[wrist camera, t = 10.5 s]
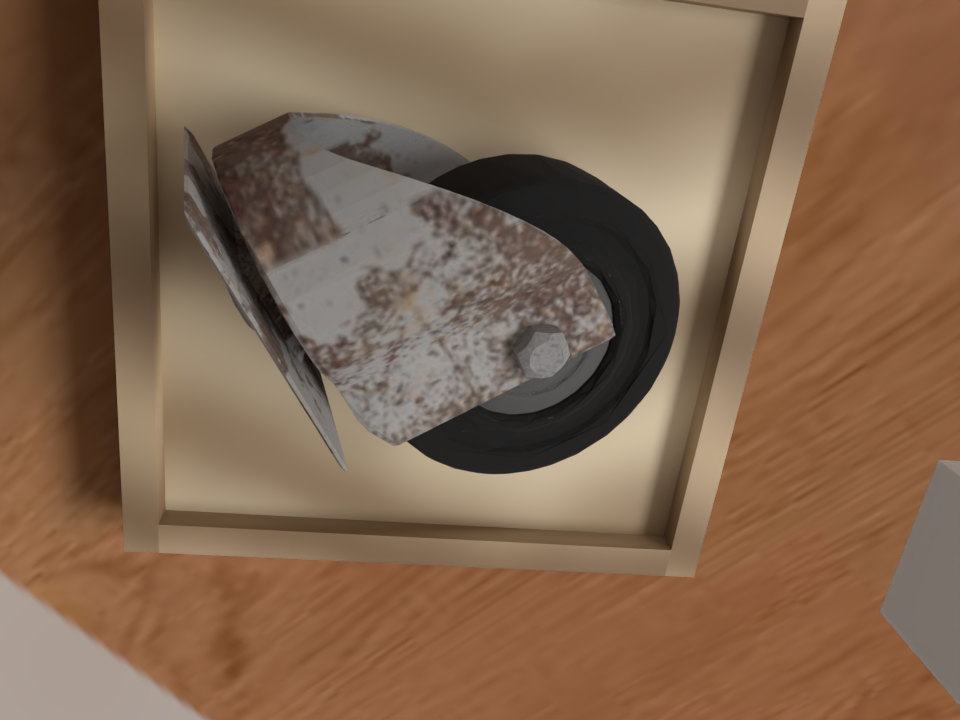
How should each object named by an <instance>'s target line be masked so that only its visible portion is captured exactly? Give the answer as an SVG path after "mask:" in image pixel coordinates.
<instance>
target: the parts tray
mask: <svg viewBox="0 0 960 720" xmlns="http://www.w3.org/2000/svg"><path fill="white" fill-rule="evenodd" d="M98 3H99V24H100V45H101V67H102V88H103V109H104V130H105V151H106V173H107V194H108V215H109V236H110V257H111V279H112V300H113V321H114V342H115V363H116V385H117V406H118V427H119V448H120V469H121V491H122V512H123V533H124V551H133V552H155V553H177V554H199V555H221V556H243V557H265V558H286V559H308V560H330V561H352V562H374V563H396V564H418V565H440V566H462V567H484V568H506V569H528V570H550V571H572V572H593V573H615V574H637V575H659V576H681V577H694V574H695V571H696V567H697V563H698V559H699V556H700V552H701V548H702V544H703V541H704V537H705V533H706V529H707V526H708V522H709V518H710V514H711V510H712V507H713V503H714V499H715V495H716V492H717V488H718V484H719V480H720V477H721V473H722V469H723V465H724V462H725V458H726V454H727V450H728V447H729V443H730V439H731V435H732V432H733V428H734V424H735V420H736V416H737V413H738V409H739V405H740V401H741V398H742V394H743V390H744V386H745V383H746V379H747V375H748V371H749V368H750V364H751V360H752V356H753V353H754V349H755V345H756V341H757V338H758V334H759V330H760V326H761V322H762V319H763V315H764V311H765V307H766V304H767V300H768V296H769V292H770V289H771V285H772V281H773V277H774V274H775V270H776V266H777V262H778V259H779V255H780V251H781V247H782V243H783V240H784V236H785V232H786V228H787V225H788V221H789V217H790V213H791V210H792V206H793V202H794V198H795V195H796V191H797V187H798V183H799V180H800V176H801V172H802V168H803V165H804V161H805V157H806V153H807V149H808V146H809V142H810V138H811V134H812V131H813V127H814V123H815V119H816V116H817V112H818V108H819V104H820V101H821V97H822V93H823V89H824V86H825V82H826V78H827V74H828V71H829V67H830V63H831V59H832V55H833V52H834V48H835V44H836V40H837V37H838V33H839V29H840V25H841V22H842V18H843V14H844V10H845V7H846V3H847V0H98ZM288 112H308V113H329V114H343V115H351V116H360V117H365V118H370V119H375V120H381V121H385V122H388V123H392V124H396V125H399V126H403V127H406V128H408V129H411V130H414V131H416V132H419V133H422V134H424V135H426V136H428V137H430V138H432V139H434V140H436V141H438V142H440V143H442V144H444V145H446V146H447V147H449V148H451V149H452V150H454V151H456V152H457V153H459V154H461V155H462V156H463V157H465V158H466V159H467V160H469V161H470V162H473V161H476V160H478V159H482V158H488V157H494V156H500V155H505V154H538V155H542V156H546V157H550V158H554V159H558V160H562V161H566V162H568V163H570V164H572V165H574V166H576V167H578V168H580V169H582V170H584V171H586V172H588V173H590V174H591V175H593V176H595V177H597V178H598V179H600V180H601V181H603V182H604V183H605V184H607V185H608V186H610V187H611V188H613V189H614V190H615V191H617V192H618V193H620V194H621V195H622V196H624V197H625V198H627V199H628V200H630V201H631V202H632V203H634V204H635V205H637V206H638V207H639V208H641V209H642V210H643V211H644V212H645V213H646V214H647V215H648V216H649V218H650V219H651V220H652V221H653V222H654V223H655V224H656V225H657V227H658V228H659V230H660V232H661V234H662V235H663V237H664V239H665V240H666V242H667V244H668V246H669V247H670V249H671V253H672V256H673V260H674V263H675V266H676V270H677V273H678V281H679V294H680V307H679V317H678V323H677V328H676V334H675V337H674V341H673V344H672V347H671V350H670V353H669V355H668V357H667V360H666V362H665V364H664V366H663V368H662V370H661V372H660V374H659V375H658V377H657V379H656V381H655V382H654V384H653V386H652V388H651V389H650V391H649V392H648V393H647V394H646V396H645V397H644V398H643V400H642V401H641V402H640V403H639V404H638V405H637V407H636V408H635V409H634V410H633V411H632V412H631V414H630V415H629V416H628V417H627V418H626V419H625V420H624V421H623V422H621V423H620V424H619V425H618V426H617V427H616V428H615V429H614V430H612V431H611V432H610V433H609V434H608V435H607V436H605V437H604V438H602V439H600V440H599V441H597V442H596V443H594V444H593V445H591V446H589V447H588V448H586V449H585V450H583V451H581V452H580V453H578V454H576V455H574V456H572V457H569V458H567V459H565V460H562V461H560V462H557V463H555V464H553V465H550V466H546V467H542V468H539V469H535V470H531V471H525V472H518V473H510V474H482V473H474V472H469V471H464V470H459V469H454V468H452V467H449V466H447V465H444V464H442V463H439V462H437V461H434V460H432V459H430V458H429V457H427V456H425V455H424V454H423V453H421V452H420V451H419V450H417V449H416V448H415V447H413V446H412V445H411V444H409V443H408V442H407V441H406V442H404V443H402V444H400V445H397V446H392V445H391V444H389V443H387V442H385V441H384V440H382V439H380V438H379V437H377V436H375V435H373V434H372V433H370V432H368V431H367V430H366V429H365V427H364V426H363V425H362V424H361V423H360V422H359V421H358V420H357V419H356V417H355V416H354V414H353V412H352V411H351V409H350V408H349V406H348V404H347V403H346V401H345V400H344V398H343V396H342V395H341V393H340V392H339V390H338V389H337V388H336V387H335V385H334V384H333V383H332V382H331V381H330V380H329V379H327V378H326V377H325V376H324V375H323V374H322V373H321V372H320V373H321V377H322V380H323V384H324V387H325V391H326V394H327V398H328V401H329V405H330V408H331V412H332V415H333V419H334V422H335V426H336V429H337V433H338V436H339V440H340V443H341V447H342V450H343V454H344V457H345V461H346V464H347V472H348V473H347V472H345V471H344V470H343V469H342V468H341V467H340V466H339V465H338V463H337V461H336V460H335V458H334V457H333V455H332V453H331V452H330V450H329V449H328V447H327V445H326V444H325V442H324V441H323V439H322V437H321V436H320V434H319V433H318V431H317V429H316V428H315V426H314V425H313V423H312V422H311V420H310V418H309V417H308V415H307V414H306V412H305V410H304V409H303V407H302V406H301V404H300V402H299V401H298V399H297V398H296V396H295V394H294V393H293V391H292V390H291V388H290V386H289V385H288V383H287V382H286V380H285V379H284V377H283V375H282V374H281V372H280V371H279V369H278V367H277V366H276V364H275V363H274V361H273V359H272V358H271V356H270V355H269V353H268V351H267V350H266V348H265V347H264V345H263V343H262V342H261V340H260V339H259V337H258V336H257V334H256V332H255V331H254V330H252V329H251V328H250V327H249V326H248V325H247V324H246V322H245V321H244V319H243V318H242V316H241V314H240V313H239V311H238V309H237V308H236V306H235V305H234V303H233V300H232V298H231V296H230V294H229V292H228V290H227V286H226V285H225V283H224V281H223V280H222V278H221V277H220V275H219V273H218V272H217V270H216V269H215V267H214V265H213V264H212V262H211V261H210V259H209V257H208V256H207V254H206V253H205V251H204V250H203V248H202V246H201V245H200V243H199V242H198V240H197V238H196V237H195V235H194V234H193V232H192V230H191V229H190V227H189V224H188V222H187V219H186V217H185V214H184V126H185V127H187V128H188V129H189V130H190V131H191V133H192V134H193V135H194V137H195V139H196V140H197V142H198V144H199V146H200V147H201V149H202V151H203V152H204V154H205V156H206V158H207V159H208V161H209V163H210V165H211V166H212V168H213V170H214V171H215V168H214V164H213V161H212V149H213V148H214V147H215V146H217V145H219V144H221V143H223V142H226V141H228V140H230V139H232V138H234V137H236V136H238V135H241V134H243V133H245V132H247V131H249V130H251V129H254V128H256V127H258V126H260V125H262V124H264V123H266V122H269V121H271V120H273V119H275V118H277V117H279V116H281V115H284V114H286V113H288ZM215 173H216V171H215ZM216 175H217V174H216Z"/></svg>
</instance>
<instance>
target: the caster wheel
mask: <svg viewBox="0 0 960 720" xmlns="http://www.w3.org/2000/svg"><path fill="white" fill-rule="evenodd" d="M212 161H213V164H214V168H215V171H216V173H215V171H214V170H213V168H212V166H211V165H210V163H209V161H208V159H207V158H206V156H205V154H204V152H203V151H202V149H201V147H200V146H199V144H198V142H197V140H196V139H195V137H194V135H193V134H192V133H191V131H190V130H189V129H188V128H187V127H185V126H184V214H185V217H186V219H187V222H188V224H189V227H190V229H191V230H192V232H193V234H194V235H195V237H196V238H197V240H198V242H199V243H200V245H201V246H202V248H203V250H204V251H205V253H206V254H207V256H208V257H209V259H210V261H211V262H212V264H213V265H214V267H215V269H216V270H217V272H218V273H219V275H220V277H221V278H222V280H223V281H224V283H225V285H226V286H227V290H228V292H229V294H230V296H231V298H232V300H233V303H234V305H235V306H236V308H237V309H238V311H239V313H240V314H241V316H242V318H243V319H244V321H245V322H246V324H247V325H248V326H249V327H250V328H251V329H252V330H254V331H255V332H256V334H257V336H258V337H259V339H260V340H261V342H262V343H263V345H264V347H265V348H266V350H267V351H268V353H269V355H270V356H271V358H272V359H273V361H274V363H275V364H276V366H277V367H278V369H279V371H280V372H281V374H282V375H283V377H284V379H285V380H286V382H287V383H288V385H289V386H290V388H291V390H292V391H293V393H294V394H295V396H296V398H297V399H298V401H299V402H300V404H301V406H302V407H303V409H304V410H305V412H306V414H307V415H308V417H309V418H310V420H311V422H312V423H313V425H314V426H315V428H316V429H317V431H318V433H319V434H320V436H321V437H322V439H323V441H324V442H325V444H326V445H327V447H328V449H329V450H330V452H331V453H332V455H333V457H334V458H335V460H336V461H337V463H338V465H339V466H340V467H341V468H342V469H343V470H344V471H345V472H347V464H346V461H345V457H344V454H343V450H342V447H341V443H340V440H339V436H338V433H337V429H336V426H335V422H334V419H333V415H332V412H331V408H330V405H329V401H328V398H327V394H326V391H325V387H324V384H323V380H322V377H321V373H322V374H323V375H324V376H325V377H326V378H327V379H329V380H330V381H331V382H332V383H333V384H334V385H335V387H336V388H337V389H338V390H339V392H340V393H341V395H342V396H343V398H344V400H345V401H346V403H347V404H348V406H349V408H350V409H351V411H352V412H353V414H354V416H355V417H356V419H357V420H358V421H359V422H360V423H361V424H362V425H363V426H364V427H365V429H366V430H367V431H368V432H370V433H372V434H373V435H375V436H377V437H379V438H380V439H382V440H384V441H385V442H387V443H389V444H391V445H392V446H397V445H400V444H402V443H404V442H406V441H407V442H408V443H409V444H411V445H412V446H413V447H415V448H416V449H417V450H419V451H420V452H421V453H423V454H424V455H425V456H427V457H429V458H430V459H432V460H434V461H437V462H439V463H442V464H444V465H447V466H449V467H452V468H454V469H459V470H464V471H469V472H474V473H482V474H510V473H518V472H525V471H531V470H535V469H539V468H542V467H546V466H550V465H553V464H555V463H557V462H560V461H562V460H565V459H567V458H569V457H572V456H574V455H576V454H578V453H580V452H581V451H583V450H585V449H586V448H588V447H589V446H591V445H593V444H594V443H596V442H597V441H599V440H600V439H602V438H604V437H605V436H607V435H608V434H609V433H610V432H611V431H612V430H614V429H615V428H616V427H617V426H618V425H619V424H620V423H621V422H623V421H624V420H625V419H626V418H627V417H628V416H629V415H630V414H631V412H632V411H633V410H634V409H635V408H636V407H637V405H638V404H639V403H640V402H641V401H642V400H643V398H644V397H645V396H646V394H647V393H648V392H649V391H650V389H651V388H652V386H653V384H654V382H655V381H656V379H657V377H658V375H659V374H660V372H661V370H662V368H663V366H664V364H665V362H666V360H667V357H668V355H669V353H670V350H671V347H672V344H673V341H674V337H675V334H676V328H677V323H678V317H679V307H680V294H679V281H678V273H677V270H676V266H675V263H674V260H673V256H672V253H671V249H670V247H669V246H668V244H667V242H666V240H665V239H664V237H663V235H662V234H661V232H660V230H659V228H658V227H657V225H656V224H655V223H654V222H653V221H652V220H651V219H650V218H649V216H648V215H647V214H646V213H645V212H644V211H643V210H642V209H641V208H639V207H638V206H637V205H635V204H634V203H632V202H631V201H630V200H628V199H627V198H625V197H624V196H622V195H621V194H620V193H618V192H617V191H615V190H614V189H613V188H611V187H610V186H608V185H607V184H605V183H604V182H603V181H601V180H600V179H598V178H597V177H595V176H593V175H591V174H590V173H588V172H586V171H584V170H582V169H580V168H578V167H576V166H574V165H572V164H570V163H568V162H566V161H562V160H558V159H554V158H550V157H546V156H542V155H538V154H505V155H500V156H494V157H488V158H482V159H478V160H476V161H473V162H470V161H469V160H467V159H466V158H465V157H463V156H462V155H461V154H459V153H457V152H456V151H454V150H452V149H451V148H449V147H447V146H446V145H444V144H442V143H440V142H438V141H436V140H434V139H432V138H430V137H428V136H426V135H424V134H422V133H419V132H416V131H414V130H411V129H408V128H406V127H403V126H399V125H396V124H392V123H388V122H385V121H381V120H375V119H370V118H365V117H360V116H351V115H343V114H329V113H308V112H288V113H286V114H284V115H281V116H279V117H277V118H275V119H273V120H271V121H269V122H266V123H264V124H262V125H260V126H258V127H256V128H254V129H251V130H249V131H247V132H245V133H243V134H241V135H238V136H236V137H234V138H232V139H230V140H228V141H226V142H223V143H221V144H219V145H217V146H215V147H214V148H213V149H212ZM216 174H217V175H216ZM320 372H321V373H320ZM347 473H348V472H347Z"/></svg>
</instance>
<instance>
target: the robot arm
mask: <svg viewBox="0 0 960 720" xmlns="http://www.w3.org/2000/svg"><path fill="white" fill-rule="evenodd" d="M880 613H881V614H882V615H883V616H884V618H885V619H886V620H887V621H888V622H889V623H890V625H891V626H892V627H893V628H894V629H895V631H896V632H897V633H898V634H899V635H900V636H901V638H902V639H903V640H904V641H905V642H906V643H907V645H908V646H909V647H910V648H911V649H912V650H913V652H914V653H915V654H916V655H917V656H918V658H919V659H920V660H921V661H922V662H923V663H924V665H925V666H926V667H927V668H928V669H929V670H930V672H931V673H932V674H933V675H934V676H935V678H936V679H937V680H938V681H939V682H940V683H941V685H942V686H943V687H944V688H945V689H946V690H947V692H948V693H949V694H950V695H951V696H952V697H953V699H954V700H955V701H956V702H957V703H958V705H959V706H960V461H947V460H938V463H937V465H936V468H935V471H934V473H933V476H932V478H931V481H930V484H929V486H928V489H927V491H926V494H925V497H924V499H923V502H922V504H921V507H920V509H919V512H918V515H917V517H916V520H915V522H914V525H913V528H912V530H911V533H910V535H909V538H908V541H907V543H906V546H905V548H904V551H903V553H902V556H901V559H900V561H899V564H898V566H897V569H896V572H895V574H894V577H893V579H892V582H891V585H890V587H889V590H888V592H887V595H886V597H885V600H884V603H883V605H882V608H881V610H880Z"/></svg>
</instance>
